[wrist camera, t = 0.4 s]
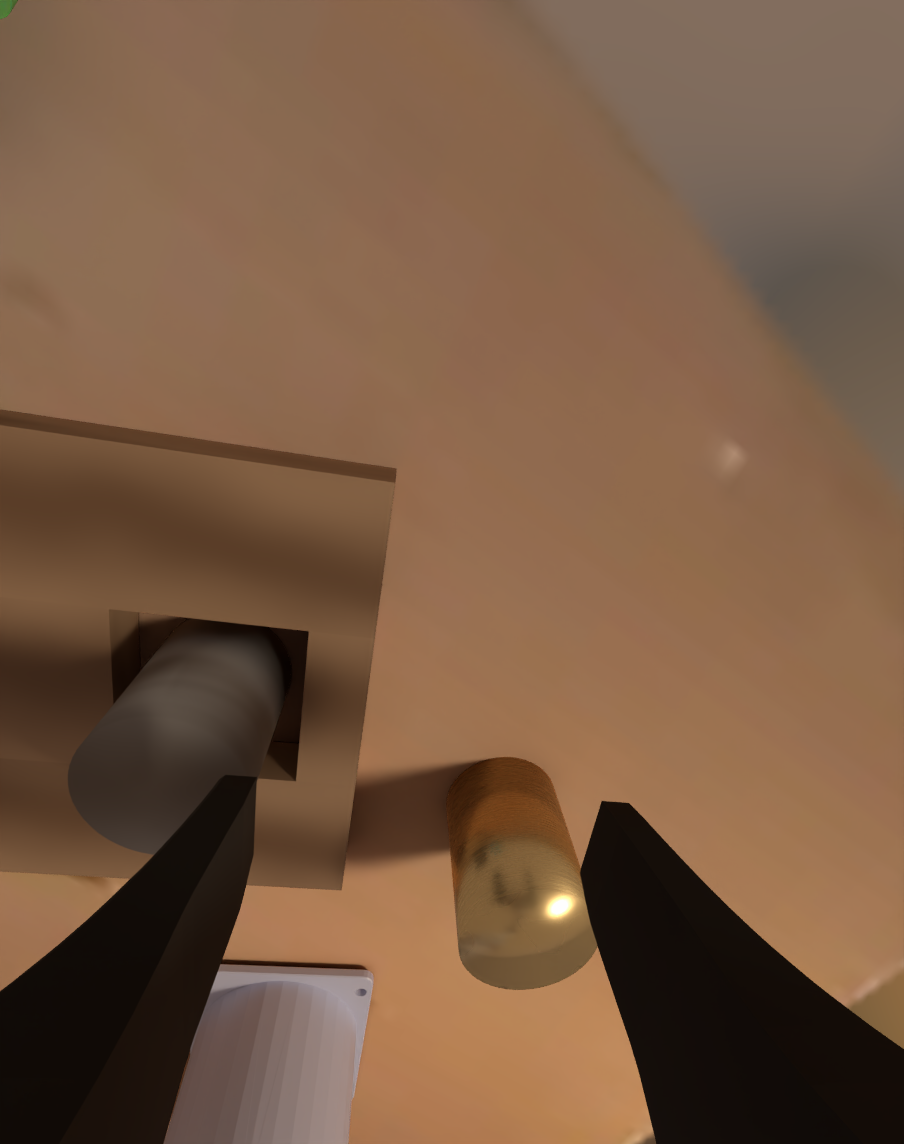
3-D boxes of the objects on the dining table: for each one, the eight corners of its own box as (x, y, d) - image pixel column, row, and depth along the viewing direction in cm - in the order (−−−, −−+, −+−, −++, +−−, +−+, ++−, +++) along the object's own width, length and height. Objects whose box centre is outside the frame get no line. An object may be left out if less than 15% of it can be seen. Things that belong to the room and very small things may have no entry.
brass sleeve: (541, 846, 25) (580, 991, 19) (438, 839, 24) (447, 987, 19) (566, 762, 23) (616, 894, 18) (456, 752, 23) (472, 885, 17)
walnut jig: (346, 848, 24) (328, 1000, 18) (-196, 812, 21) (-407, 977, 16) (396, 468, 18) (391, 523, 13) (-332, 360, 16) (-732, 369, 10)
